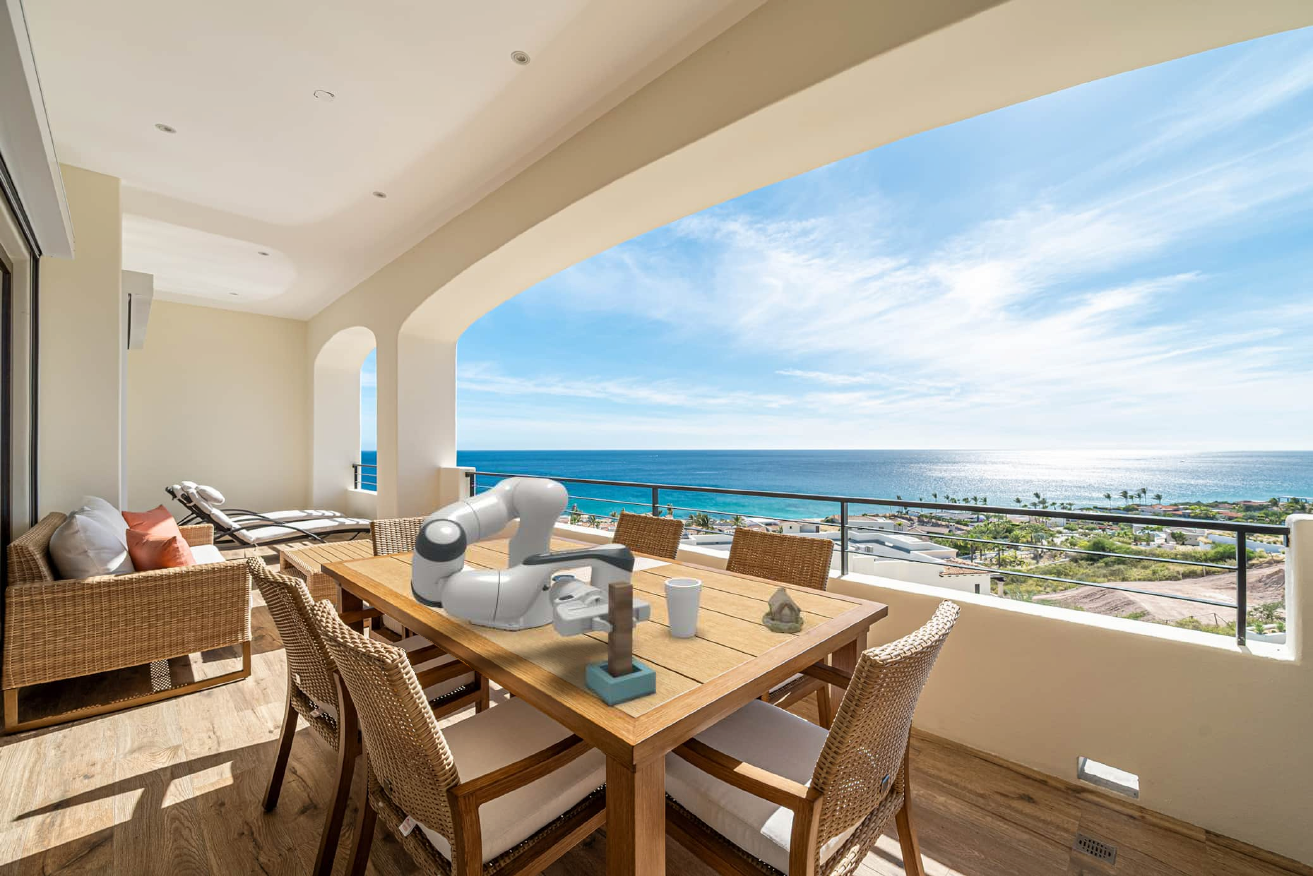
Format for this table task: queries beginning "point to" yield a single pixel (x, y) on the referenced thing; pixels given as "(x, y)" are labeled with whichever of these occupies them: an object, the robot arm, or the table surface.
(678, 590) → the foam cup
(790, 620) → the ceramic model
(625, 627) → the wooden block
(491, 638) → the table surface
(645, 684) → the light blue square container
